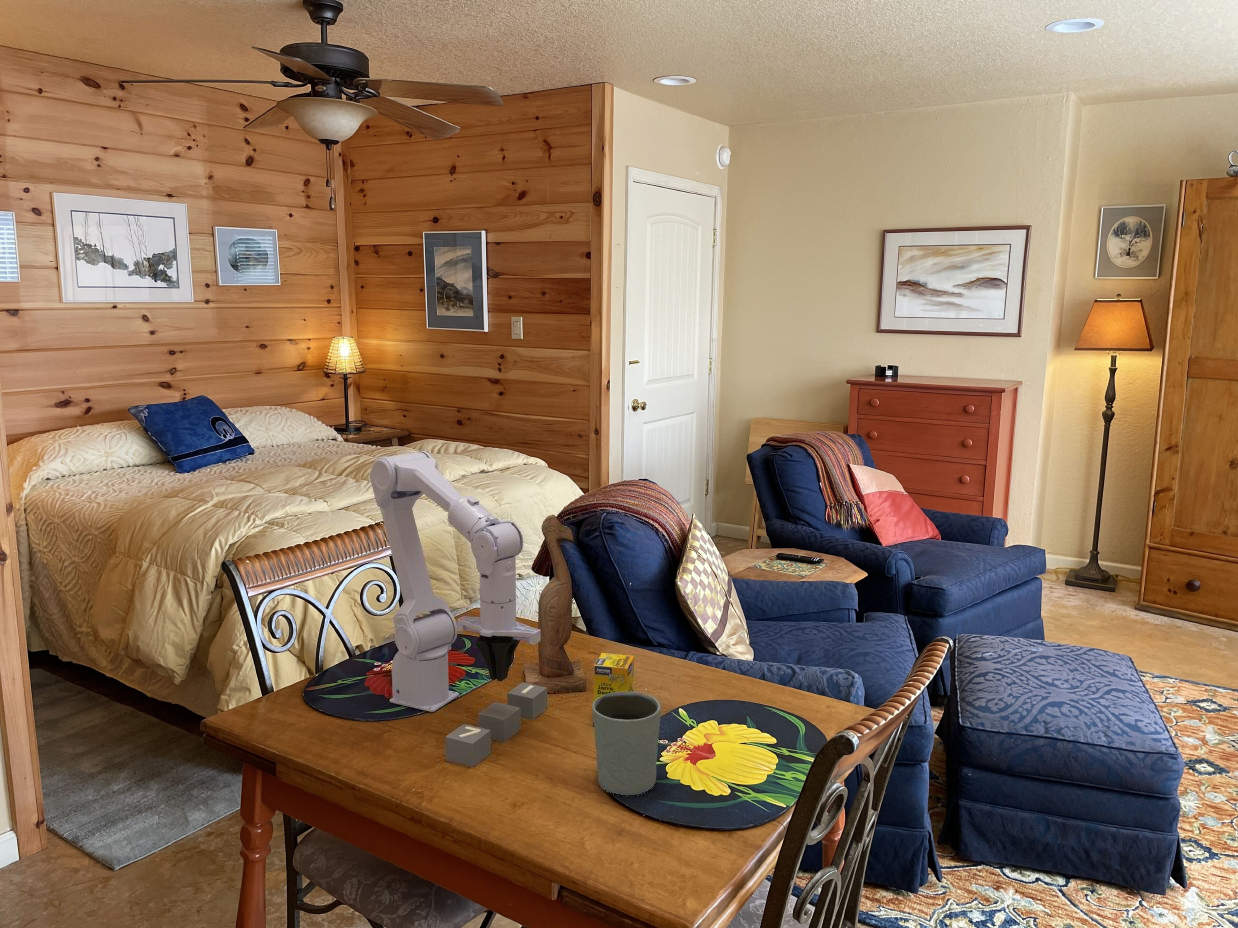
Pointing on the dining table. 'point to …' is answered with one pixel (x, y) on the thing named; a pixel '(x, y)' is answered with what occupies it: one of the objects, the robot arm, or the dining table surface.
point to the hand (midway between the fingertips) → (499, 678)
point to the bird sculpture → (556, 621)
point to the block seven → (468, 745)
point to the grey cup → (626, 741)
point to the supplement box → (612, 674)
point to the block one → (528, 699)
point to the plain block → (500, 721)
